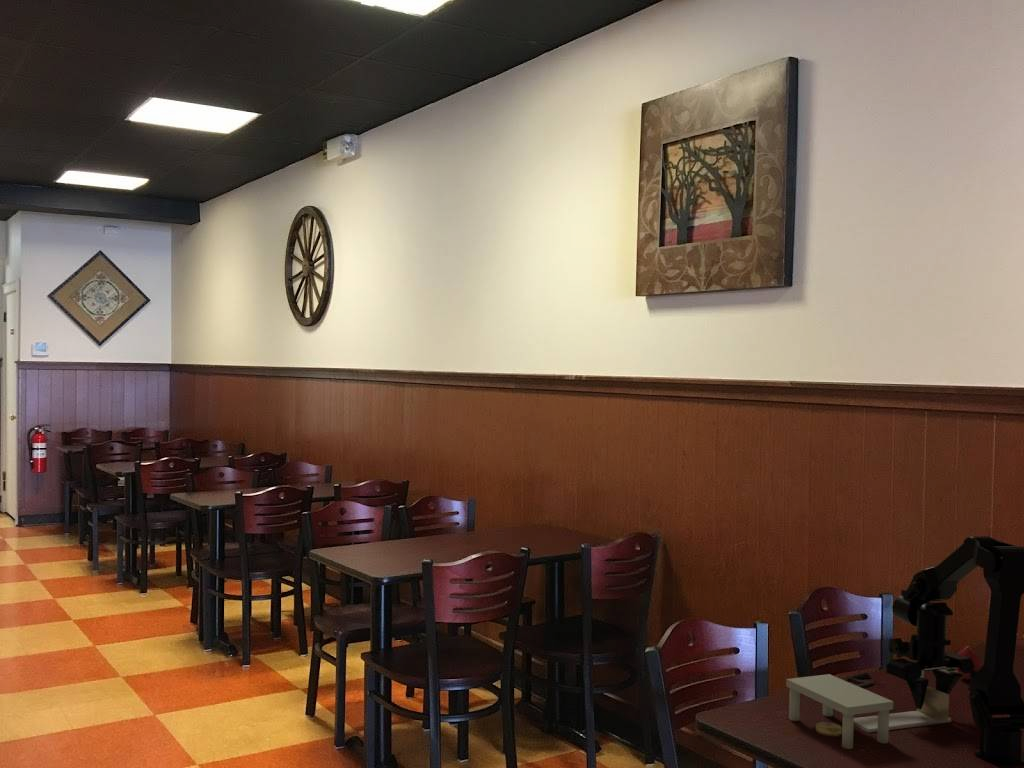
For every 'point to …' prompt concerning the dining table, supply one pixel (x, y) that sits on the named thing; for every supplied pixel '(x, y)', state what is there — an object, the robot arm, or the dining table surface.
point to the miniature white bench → (840, 703)
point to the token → (829, 729)
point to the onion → (974, 658)
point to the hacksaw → (863, 683)
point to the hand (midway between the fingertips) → (929, 707)
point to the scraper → (913, 714)
